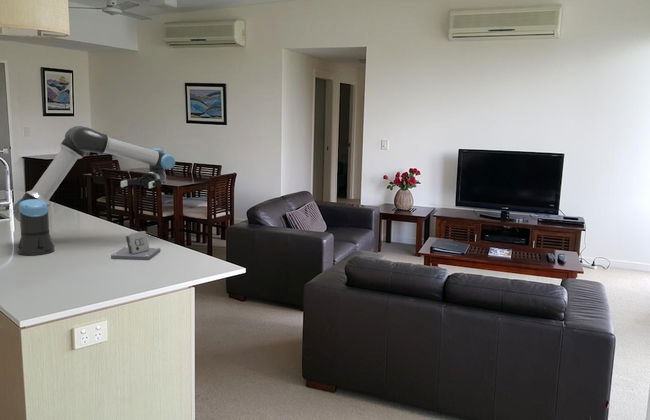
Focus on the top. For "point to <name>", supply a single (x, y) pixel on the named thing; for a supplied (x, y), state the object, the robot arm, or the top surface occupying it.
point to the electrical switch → (137, 242)
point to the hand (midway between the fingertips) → (135, 185)
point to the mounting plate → (138, 256)
